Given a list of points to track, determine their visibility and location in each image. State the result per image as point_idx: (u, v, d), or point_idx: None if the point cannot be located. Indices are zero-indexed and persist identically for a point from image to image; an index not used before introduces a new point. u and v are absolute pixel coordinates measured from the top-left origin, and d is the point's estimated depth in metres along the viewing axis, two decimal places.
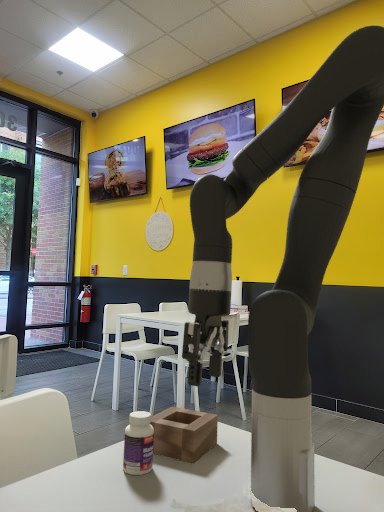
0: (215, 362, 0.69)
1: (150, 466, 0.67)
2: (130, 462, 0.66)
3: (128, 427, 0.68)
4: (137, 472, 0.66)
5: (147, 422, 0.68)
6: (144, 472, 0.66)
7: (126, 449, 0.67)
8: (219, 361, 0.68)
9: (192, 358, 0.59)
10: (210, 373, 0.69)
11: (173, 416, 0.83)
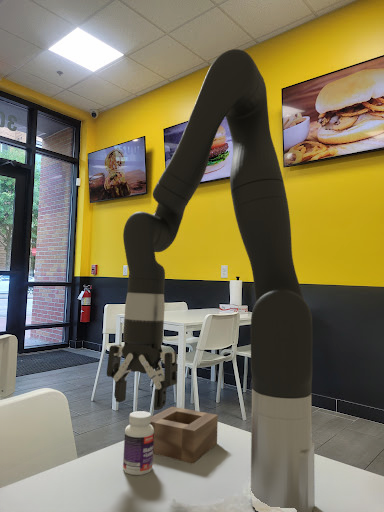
0: (123, 387, 0.72)
1: (150, 466, 0.67)
2: (130, 462, 0.66)
3: (128, 427, 0.68)
4: (137, 472, 0.66)
5: (147, 422, 0.68)
6: (144, 472, 0.66)
7: (126, 449, 0.67)
8: (125, 385, 0.72)
9: (175, 382, 0.67)
10: (119, 399, 0.71)
11: (173, 416, 0.83)
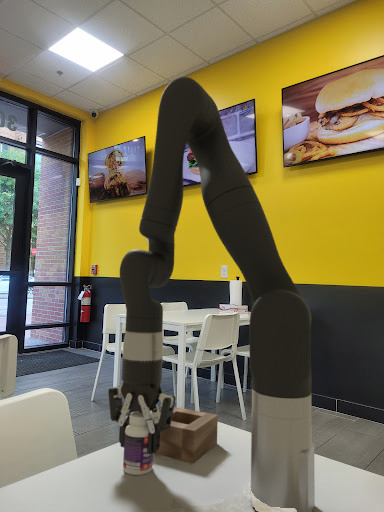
0: None
1: (150, 466, 0.67)
2: (130, 462, 0.66)
3: (128, 427, 0.68)
4: (137, 472, 0.66)
5: None
6: (144, 472, 0.66)
7: (126, 449, 0.67)
8: None
9: (168, 426, 0.67)
10: None
11: (173, 416, 0.83)
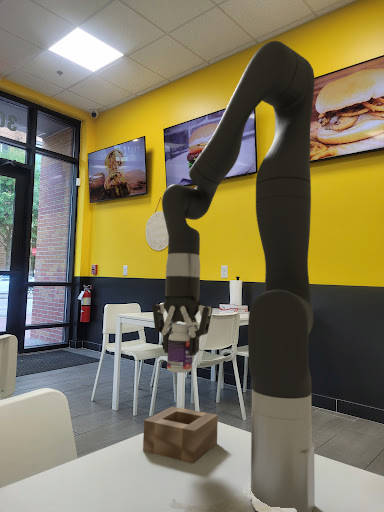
0: None
1: (191, 366, 0.79)
2: (174, 361, 0.77)
3: (171, 334, 0.80)
4: (180, 369, 0.77)
5: (188, 330, 0.79)
6: (186, 370, 0.77)
7: (170, 352, 0.78)
8: None
9: (206, 333, 0.79)
10: (167, 350, 0.81)
11: (173, 416, 0.83)
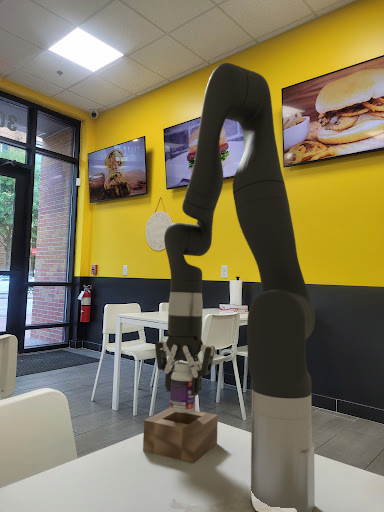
0: None
1: (193, 406, 0.79)
2: (177, 402, 0.77)
3: (174, 373, 0.80)
4: (183, 410, 0.77)
5: (190, 369, 0.79)
6: (189, 410, 0.77)
7: (173, 392, 0.78)
8: None
9: (209, 372, 0.79)
10: None
11: (173, 416, 0.83)
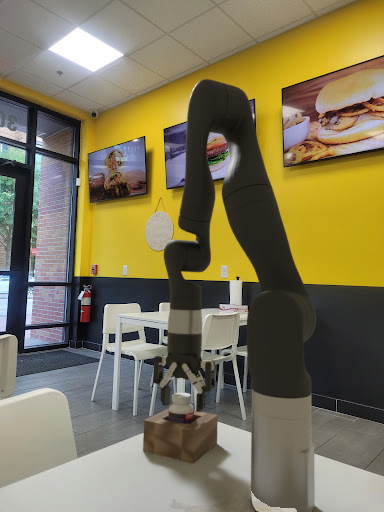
0: (168, 392, 0.82)
1: None
2: None
3: (171, 406, 0.79)
4: None
5: (188, 401, 0.78)
6: None
7: None
8: (169, 390, 0.83)
9: (213, 388, 0.78)
10: (165, 403, 0.81)
11: None
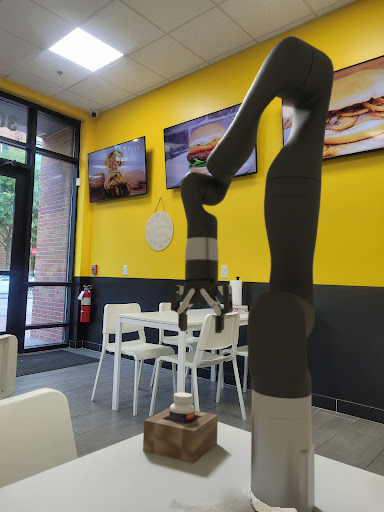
0: (185, 319, 0.85)
1: None
2: None
3: (172, 405, 0.79)
4: None
5: (189, 401, 0.79)
6: None
7: None
8: (186, 318, 0.85)
9: (231, 310, 0.81)
10: (183, 329, 0.84)
11: None
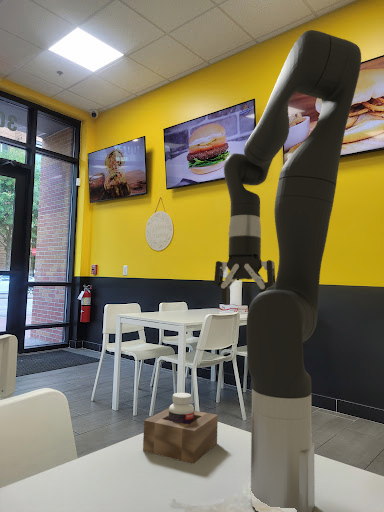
0: (228, 293, 0.89)
1: None
2: None
3: (172, 405, 0.79)
4: None
5: (188, 401, 0.78)
6: None
7: None
8: (229, 292, 0.89)
9: (274, 284, 0.85)
10: (226, 302, 0.88)
11: None
